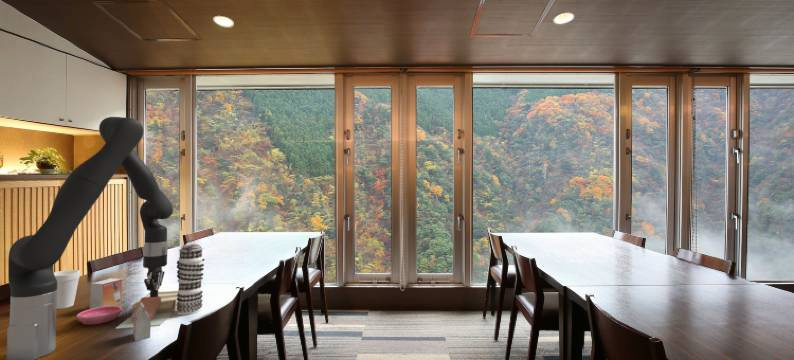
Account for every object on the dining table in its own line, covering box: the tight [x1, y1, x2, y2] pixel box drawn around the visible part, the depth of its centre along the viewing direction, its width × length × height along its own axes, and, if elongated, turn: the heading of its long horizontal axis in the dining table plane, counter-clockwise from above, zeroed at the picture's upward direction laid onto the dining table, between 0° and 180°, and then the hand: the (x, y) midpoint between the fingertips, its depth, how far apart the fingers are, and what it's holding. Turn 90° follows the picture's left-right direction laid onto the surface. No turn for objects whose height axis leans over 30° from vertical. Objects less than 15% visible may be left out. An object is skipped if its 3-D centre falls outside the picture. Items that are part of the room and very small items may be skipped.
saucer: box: [76, 306, 123, 326], centre depth 126 cm, size 12×12×3 cm
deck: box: [131, 290, 178, 315], centre depth 139 cm, size 16×13×4 cm
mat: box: [115, 313, 173, 330], centre depth 125 cm, size 12×13×1 cm
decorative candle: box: [176, 244, 205, 316], centre depth 136 cm, size 9×9×25 cm
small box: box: [89, 277, 123, 309], centre depth 138 cm, size 8×6×10 cm
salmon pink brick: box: [130, 296, 161, 322], centre depth 128 cm, size 9×6×2 cm, turn 13°
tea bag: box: [132, 302, 152, 342], centre depth 113 cm, size 4×7×10 cm, turn 42°
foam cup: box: [53, 269, 81, 310], centre depth 139 cm, size 10×9×13 cm
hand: (154, 300), depth 133 cm, fingers closed
